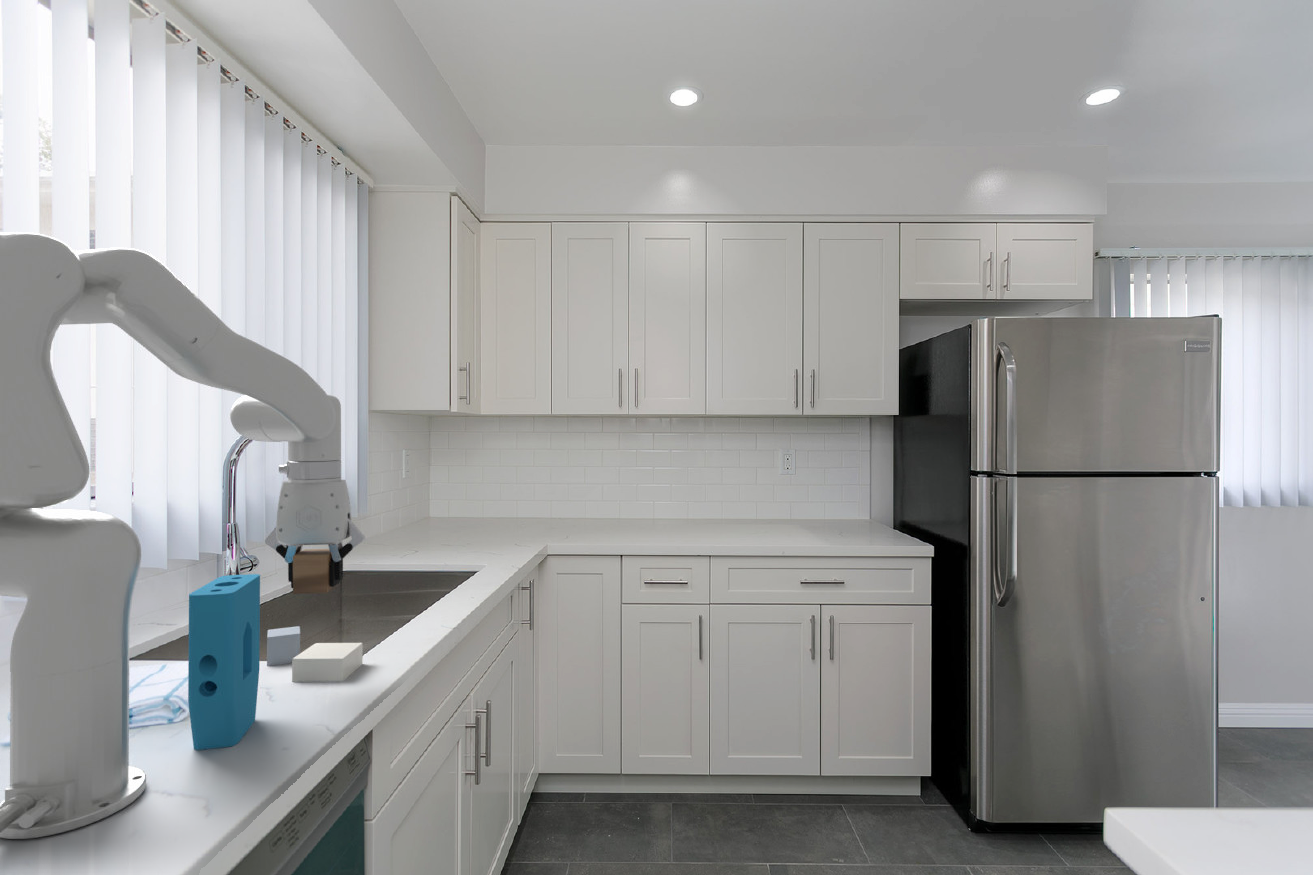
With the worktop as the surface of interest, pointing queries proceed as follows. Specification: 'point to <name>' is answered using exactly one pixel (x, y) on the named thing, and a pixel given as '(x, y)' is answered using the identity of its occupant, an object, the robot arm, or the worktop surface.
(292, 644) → the slate cube
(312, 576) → the walnut block
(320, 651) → the limestone block
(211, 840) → the worktop surface
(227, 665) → the block
